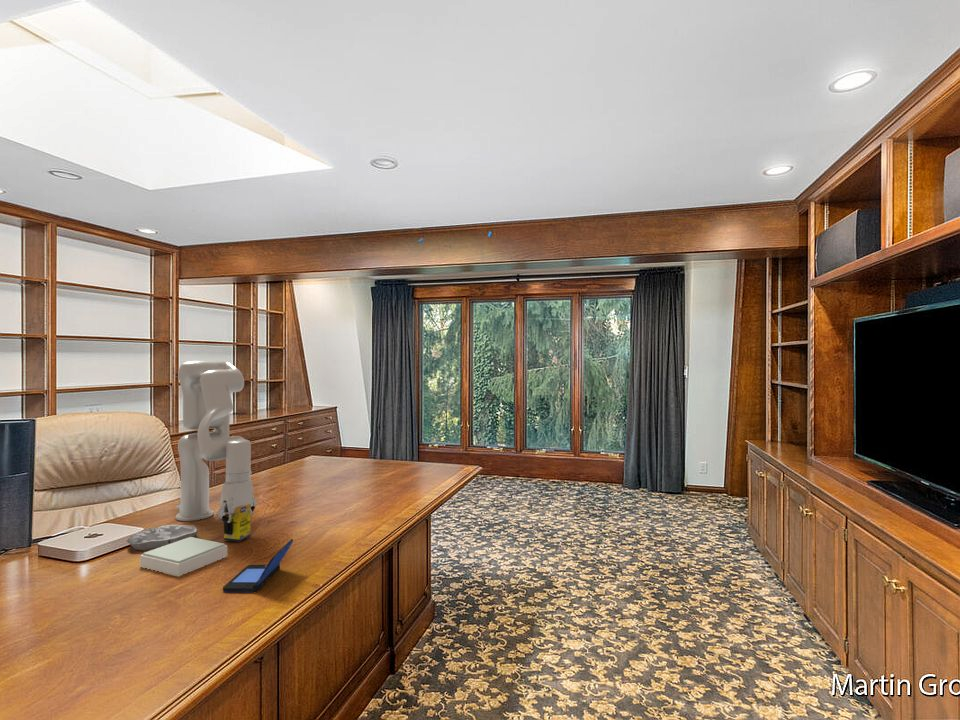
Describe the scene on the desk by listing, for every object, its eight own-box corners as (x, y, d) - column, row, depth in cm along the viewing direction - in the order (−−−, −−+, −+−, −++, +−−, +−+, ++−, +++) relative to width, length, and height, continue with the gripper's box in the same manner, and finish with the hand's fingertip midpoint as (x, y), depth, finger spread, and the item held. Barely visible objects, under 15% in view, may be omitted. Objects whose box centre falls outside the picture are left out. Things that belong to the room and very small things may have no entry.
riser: (140, 567, 149) (140, 553, 149) (190, 548, 164) (190, 536, 164) (178, 576, 143) (178, 562, 143) (227, 556, 157) (227, 543, 157)
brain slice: (187, 529, 184) (187, 520, 184) (202, 541, 171) (202, 532, 171) (120, 542, 170) (120, 533, 170) (132, 556, 158) (132, 547, 158)
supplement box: (239, 542, 169) (239, 508, 169) (223, 540, 170) (223, 507, 170) (251, 535, 175) (251, 503, 175) (235, 534, 176) (235, 502, 176)
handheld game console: (248, 569, 149) (248, 537, 149) (294, 569, 149) (294, 537, 149) (220, 593, 133) (220, 557, 133) (272, 594, 133) (272, 558, 133)
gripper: (250, 470, 182) (250, 521, 182) (207, 481, 166) (206, 537, 166) (266, 472, 179) (266, 524, 179) (224, 484, 163) (223, 540, 163)
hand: (237, 530), depth 172 cm, fingers closed on supplement box, 6 cm apart
